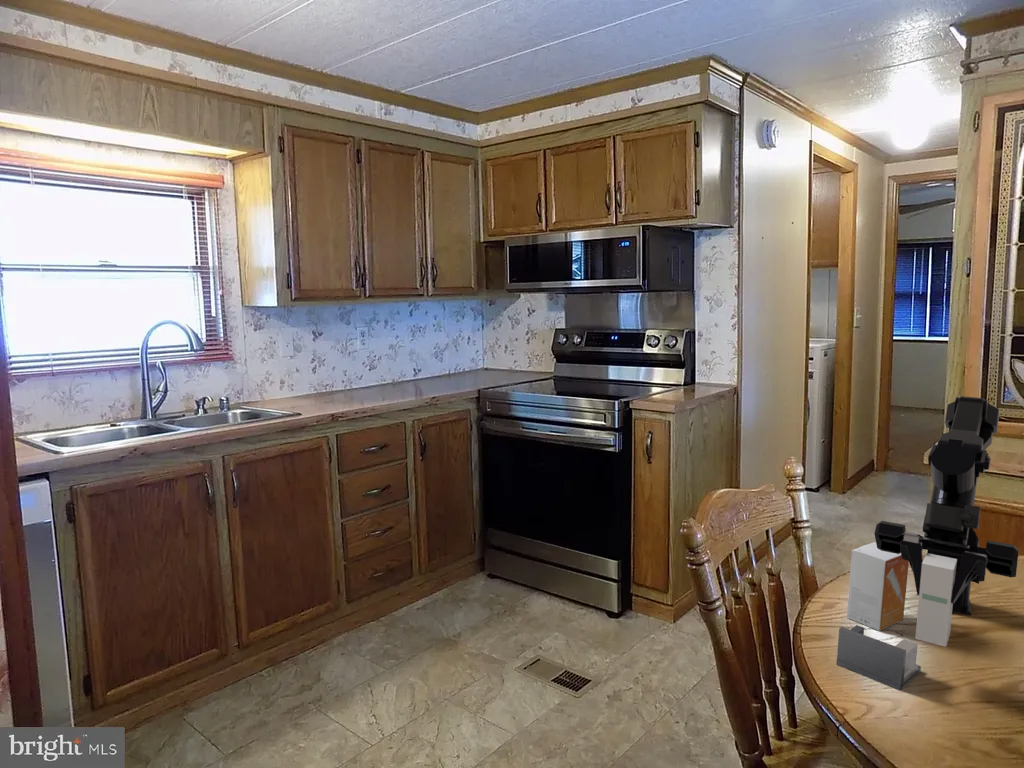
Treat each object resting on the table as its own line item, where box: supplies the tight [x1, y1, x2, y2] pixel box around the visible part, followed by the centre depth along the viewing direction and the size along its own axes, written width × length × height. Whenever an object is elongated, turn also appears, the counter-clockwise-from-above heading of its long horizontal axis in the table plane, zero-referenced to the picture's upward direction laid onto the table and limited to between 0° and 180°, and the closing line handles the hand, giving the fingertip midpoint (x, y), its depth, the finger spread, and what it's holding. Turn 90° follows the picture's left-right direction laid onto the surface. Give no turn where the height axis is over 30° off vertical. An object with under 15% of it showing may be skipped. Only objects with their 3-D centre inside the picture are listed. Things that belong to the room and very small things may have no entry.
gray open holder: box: [836, 624, 922, 691], centre depth 111 cm, size 8×10×6 cm
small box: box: [846, 541, 910, 632], centre depth 126 cm, size 8×6×13 cm
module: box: [914, 553, 957, 648], centre depth 107 cm, size 5×4×12 cm
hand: (935, 598), depth 106 cm, fingers closed on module, 4 cm apart
